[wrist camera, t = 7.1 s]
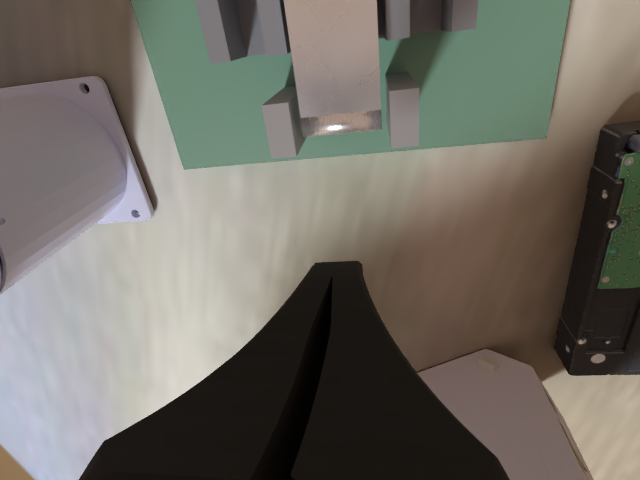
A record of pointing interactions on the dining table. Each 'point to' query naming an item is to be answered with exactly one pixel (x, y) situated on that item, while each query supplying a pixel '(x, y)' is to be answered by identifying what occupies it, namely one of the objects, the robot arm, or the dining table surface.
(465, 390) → the game console
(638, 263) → the disk drive
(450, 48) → the board
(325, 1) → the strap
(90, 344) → the dining table surface
